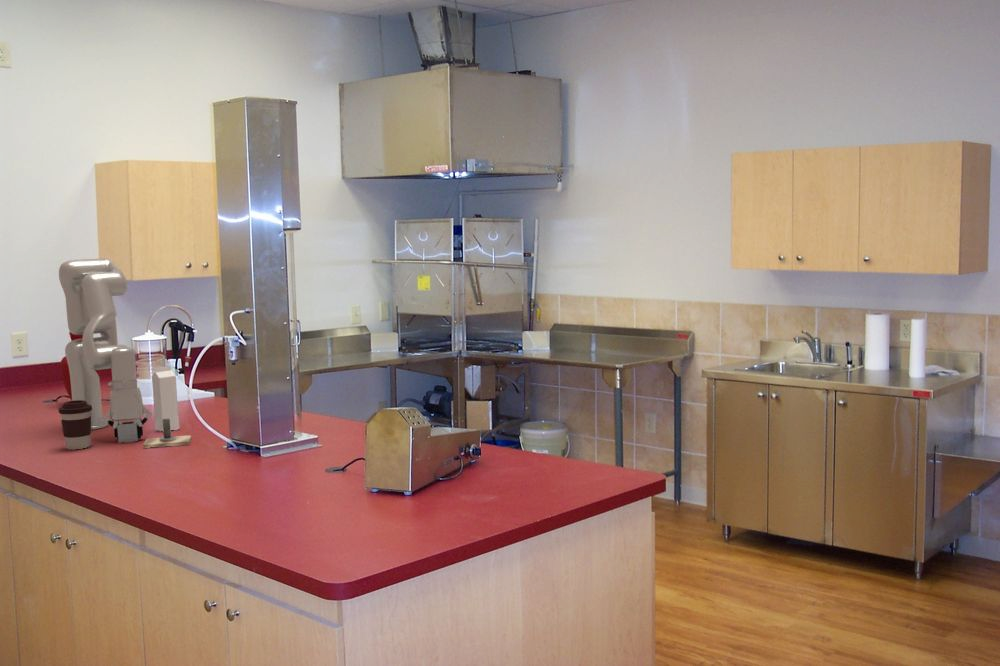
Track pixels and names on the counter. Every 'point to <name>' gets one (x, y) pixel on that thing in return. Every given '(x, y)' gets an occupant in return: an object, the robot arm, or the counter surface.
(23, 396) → the counter surface
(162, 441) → the shaft stand
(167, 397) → the milk
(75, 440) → the coffee cup
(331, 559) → the counter surface
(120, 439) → the gray rounded cube
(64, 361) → the vase
